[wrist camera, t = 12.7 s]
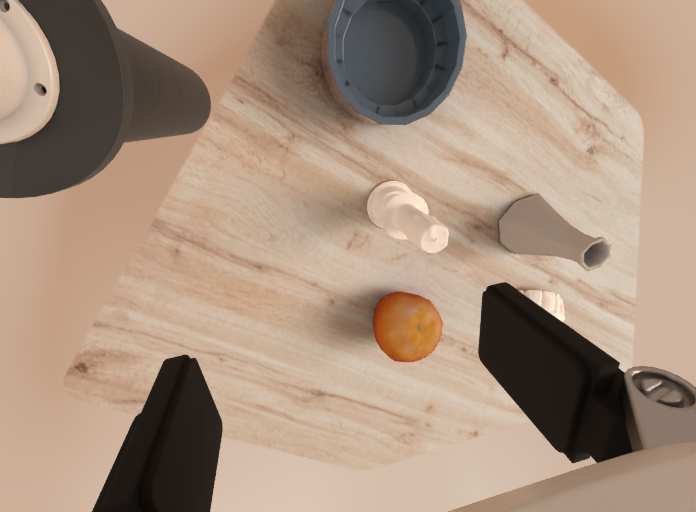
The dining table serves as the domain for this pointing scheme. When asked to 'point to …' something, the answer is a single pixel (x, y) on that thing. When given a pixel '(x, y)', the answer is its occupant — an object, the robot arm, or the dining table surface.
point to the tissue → (547, 302)
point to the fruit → (406, 326)
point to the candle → (406, 217)
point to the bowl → (393, 57)
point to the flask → (549, 234)
